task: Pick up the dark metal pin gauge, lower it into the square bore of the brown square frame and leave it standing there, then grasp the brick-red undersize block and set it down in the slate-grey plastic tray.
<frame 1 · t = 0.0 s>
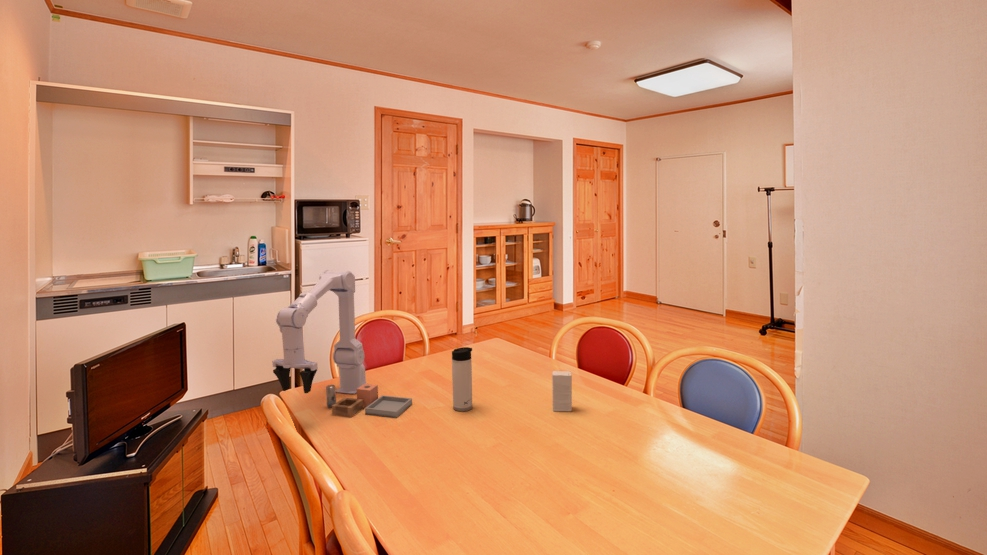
hand: (296, 391, 144), 10 cm above the table, fingers open, 7 cm apart
skincare box: (561, 409, 153), on the table
brown square frame: (348, 411, 153), on the table
travel mug: (463, 408, 155), on the table
pin gauge: (331, 406, 157), on the table
tray: (389, 409, 155), on the table
undersize block: (368, 404, 159), on the table
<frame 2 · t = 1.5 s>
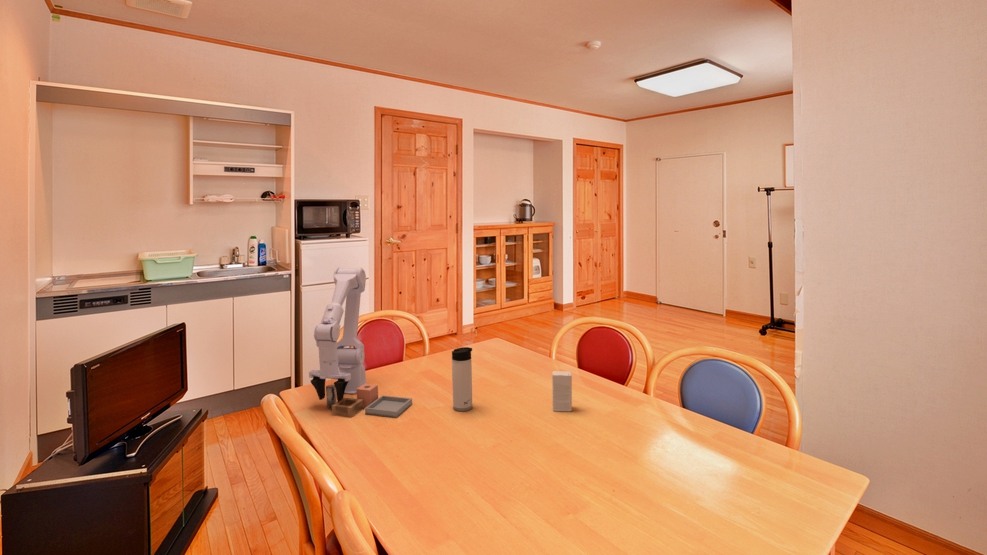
hand: (331, 399, 157), 2 cm above the table, fingers open, 6 cm apart
nothing on the table moved.
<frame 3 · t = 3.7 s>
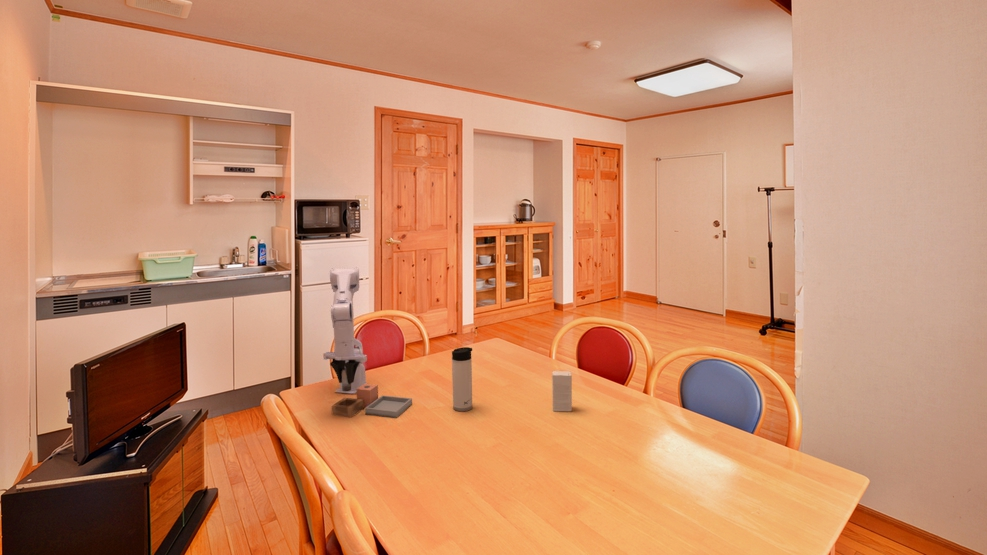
hand: (346, 382, 152), 10 cm above the table, fingers closed on pin gauge, 3 cm apart
pin gauge: (346, 389, 152), point 7 cm above the table, touching gripper
everything else where it was.
when the fingers open (3 cm above the table, at t = 5.2 s): pin gauge stays where it is, resting in brown square frame.
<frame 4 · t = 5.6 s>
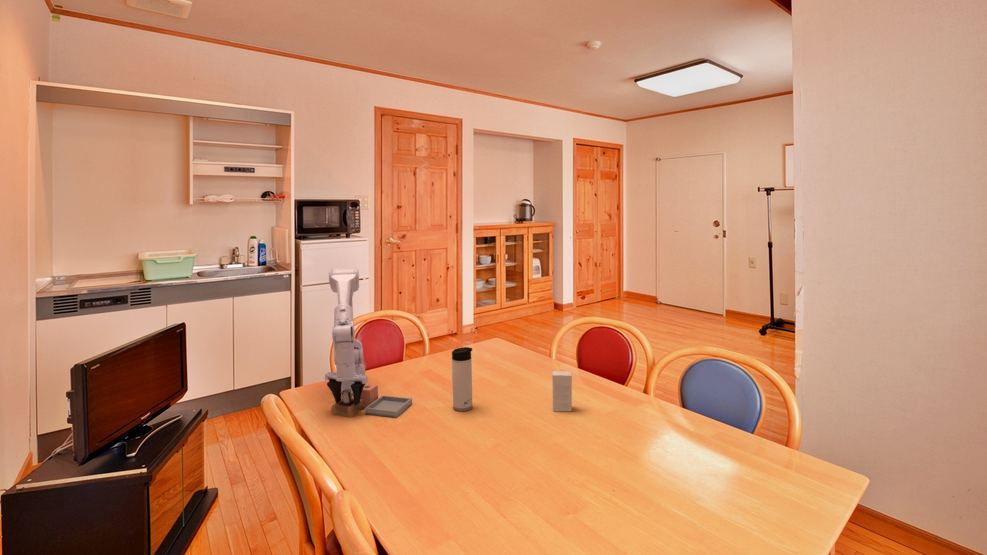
hand: (347, 402, 153), 3 cm above the table, fingers open, 6 cm apart
pin gauge: (348, 411, 153), resting in brown square frame
everything else where it was.
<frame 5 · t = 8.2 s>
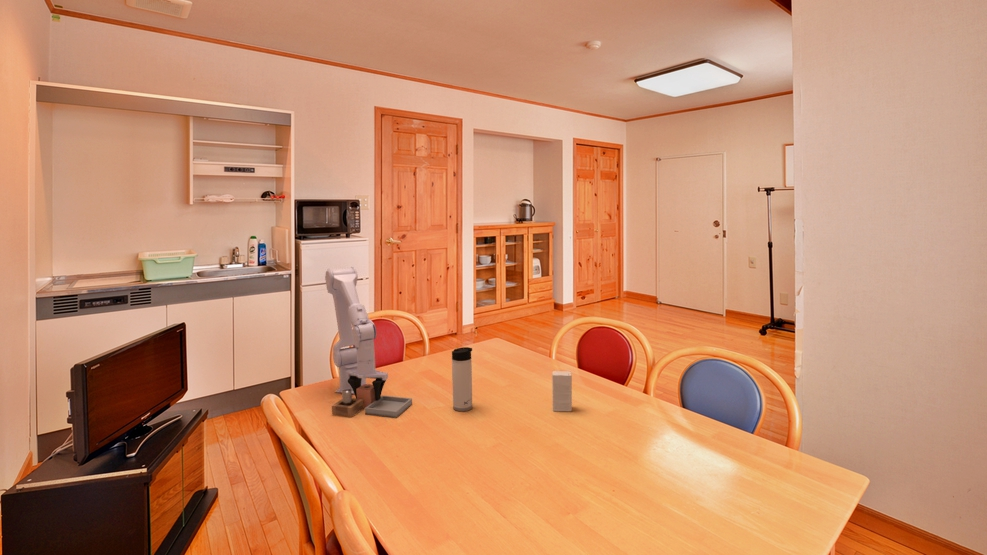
hand: (368, 398, 159), 2 cm above the table, fingers open, 7 cm apart
nothing on the table moved.
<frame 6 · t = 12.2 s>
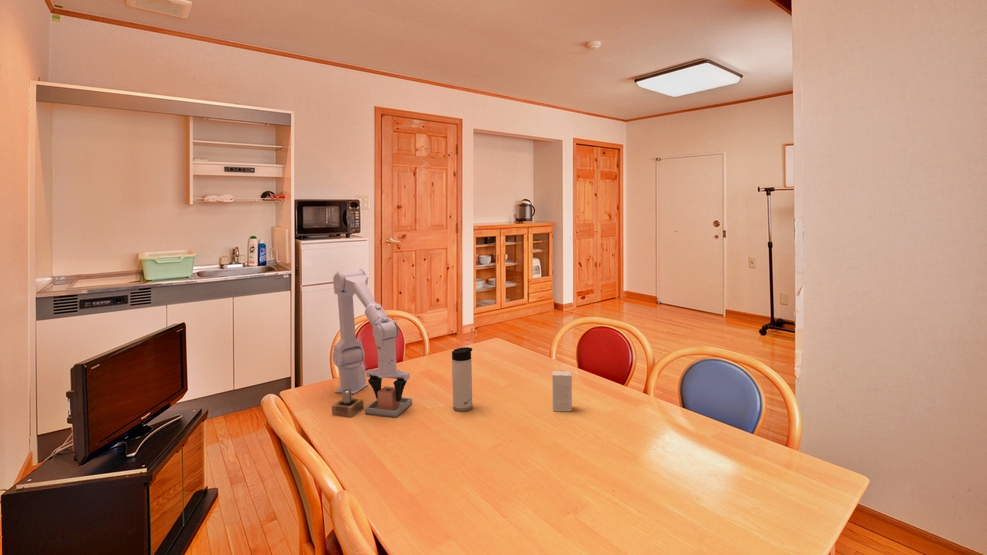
hand: (388, 399, 154), 3 cm above the table, fingers open, 7 cm apart
undersize block: (389, 407, 155), point 1 cm above the table, touching tray
everything else where it was.
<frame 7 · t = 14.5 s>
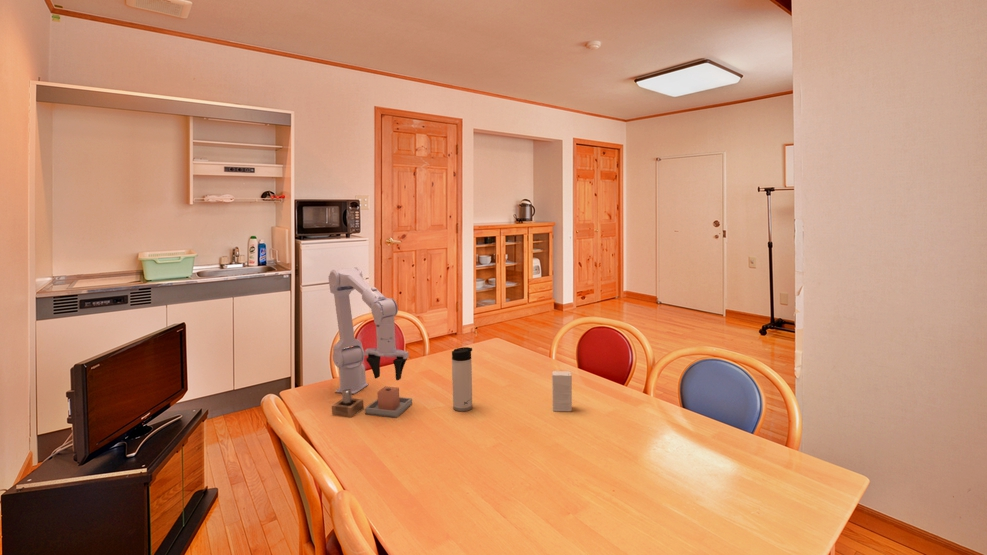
hand: (387, 378, 153), 10 cm above the table, fingers open, 7 cm apart
nothing on the table moved.
at the end: undersize block inside the target area on the tray (0.0 cm from its centre), point 0.6 cm above the tray's base; pin gauge 0.1 cm off-centre on the brown square frame, point 0.0 cm above the brown square frame's base; the gripper is holding nothing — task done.
